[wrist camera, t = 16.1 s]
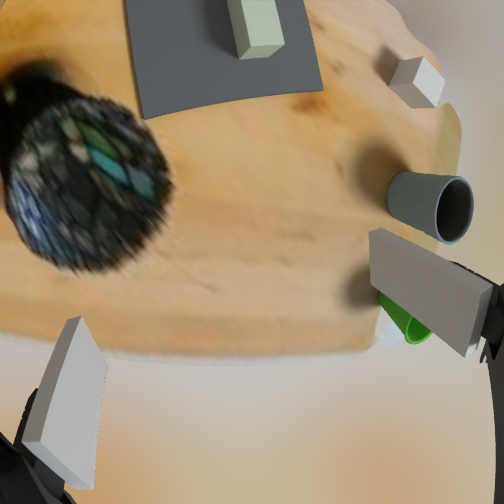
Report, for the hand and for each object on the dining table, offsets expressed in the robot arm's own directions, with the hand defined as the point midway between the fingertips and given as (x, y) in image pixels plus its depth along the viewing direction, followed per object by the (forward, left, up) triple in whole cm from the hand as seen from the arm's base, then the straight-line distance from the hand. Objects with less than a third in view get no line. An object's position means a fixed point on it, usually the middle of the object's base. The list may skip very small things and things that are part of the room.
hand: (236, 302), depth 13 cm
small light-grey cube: (+37, +12, -29) cm, 49 cm away
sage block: (+11, +16, -25) cm, 32 cm away
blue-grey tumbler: (+34, -7, -29) cm, 45 cm away
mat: (+8, +21, -28) cm, 36 cm away
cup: (+30, -25, -29) cm, 49 cm away
